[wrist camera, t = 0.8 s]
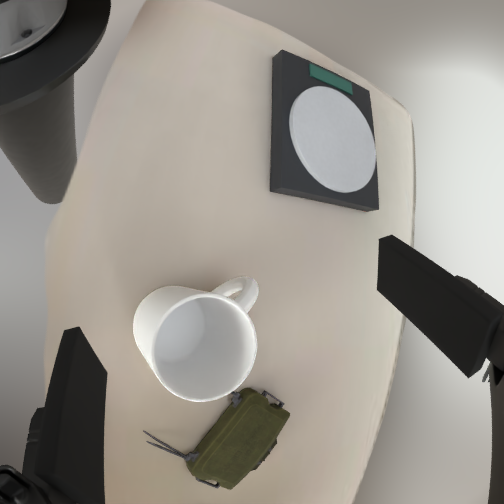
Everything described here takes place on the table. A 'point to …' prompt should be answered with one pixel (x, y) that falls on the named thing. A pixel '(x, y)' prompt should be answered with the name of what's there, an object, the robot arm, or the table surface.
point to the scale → (321, 136)
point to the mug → (199, 337)
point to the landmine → (236, 440)
